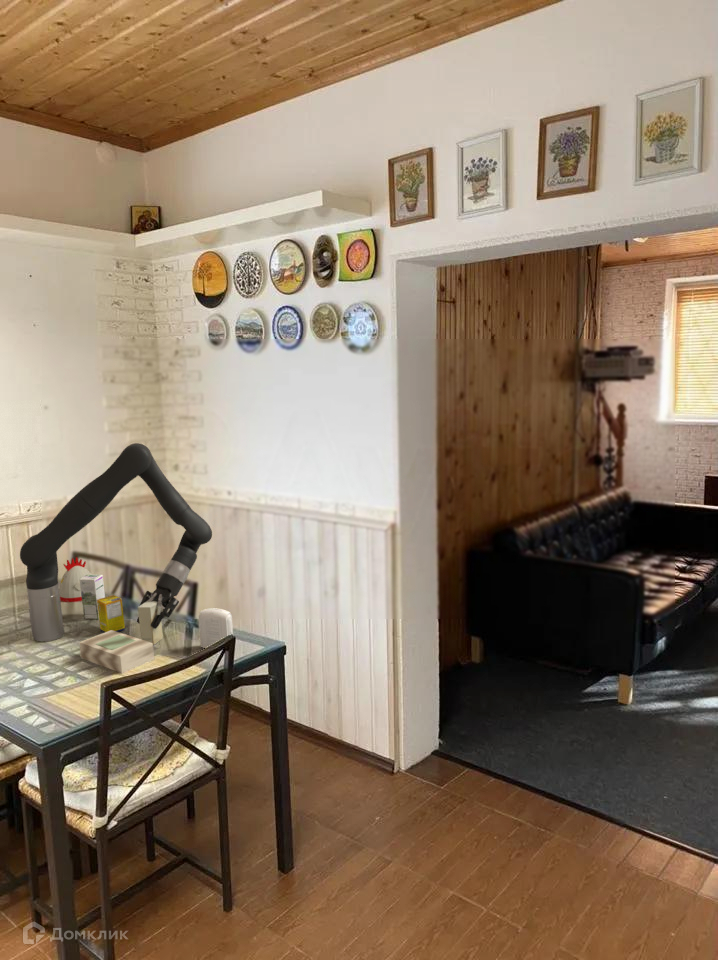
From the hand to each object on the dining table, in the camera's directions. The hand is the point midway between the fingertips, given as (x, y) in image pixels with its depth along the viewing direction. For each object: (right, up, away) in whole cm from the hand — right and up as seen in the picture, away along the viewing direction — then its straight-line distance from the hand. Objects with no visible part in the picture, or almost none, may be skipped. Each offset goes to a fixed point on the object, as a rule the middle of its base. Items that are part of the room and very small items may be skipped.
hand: (146, 625), depth 222 cm
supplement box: (-15, -5, +13) cm, 20 cm away
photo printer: (+23, -6, -5) cm, 24 cm away
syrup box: (-25, -3, +27) cm, 37 cm away
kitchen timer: (-40, +1, +51) cm, 65 cm away
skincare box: (+1, -6, +2) cm, 6 cm away
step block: (-6, -8, -10) cm, 14 cm away
